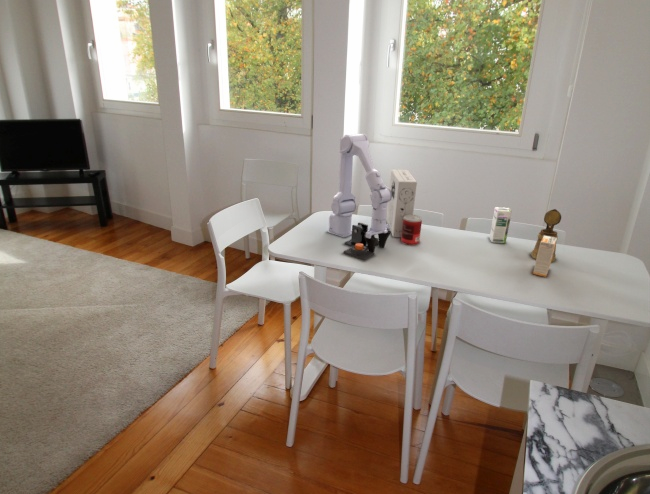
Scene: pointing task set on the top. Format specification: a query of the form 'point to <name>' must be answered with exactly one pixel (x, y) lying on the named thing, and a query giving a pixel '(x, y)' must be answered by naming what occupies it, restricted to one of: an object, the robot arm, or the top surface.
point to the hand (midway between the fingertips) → (376, 249)
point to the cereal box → (400, 199)
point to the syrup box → (500, 225)
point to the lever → (365, 234)
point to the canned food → (411, 229)
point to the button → (359, 246)
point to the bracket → (357, 235)
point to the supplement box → (544, 255)
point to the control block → (359, 253)
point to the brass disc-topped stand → (548, 231)
